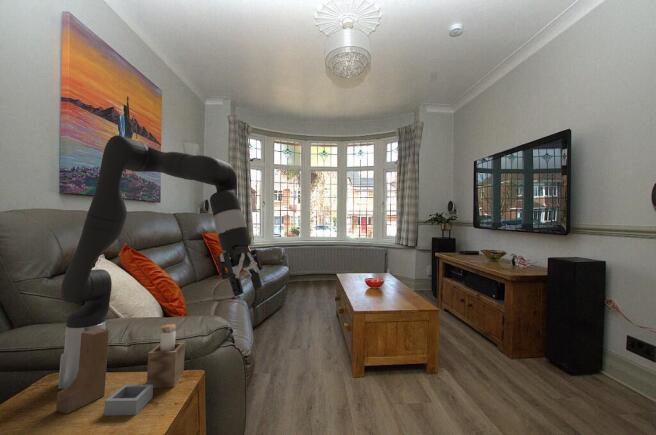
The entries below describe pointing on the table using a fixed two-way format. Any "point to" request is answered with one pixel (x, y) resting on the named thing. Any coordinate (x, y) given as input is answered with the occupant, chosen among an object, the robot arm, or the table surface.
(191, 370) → the table surface
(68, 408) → the wooden block
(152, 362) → the socket tower
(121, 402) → the low socket
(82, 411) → the table surface
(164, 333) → the white and tan cylinder
